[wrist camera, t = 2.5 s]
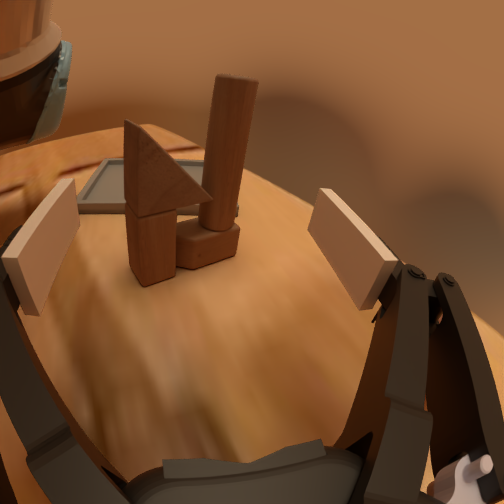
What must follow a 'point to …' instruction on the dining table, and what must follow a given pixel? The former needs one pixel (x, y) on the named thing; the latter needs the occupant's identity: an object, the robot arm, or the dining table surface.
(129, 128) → the wooden block
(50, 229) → the robot arm
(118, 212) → the slate tray
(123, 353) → the dining table surface
